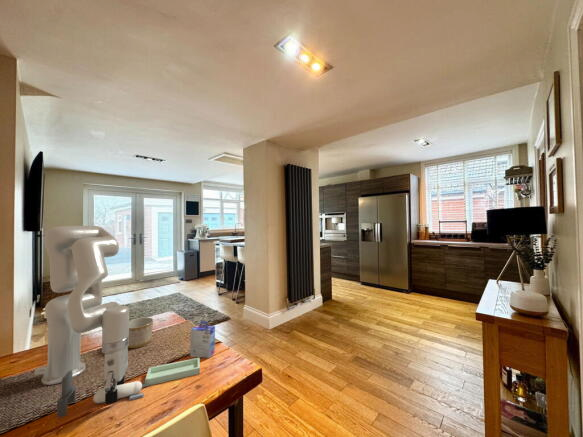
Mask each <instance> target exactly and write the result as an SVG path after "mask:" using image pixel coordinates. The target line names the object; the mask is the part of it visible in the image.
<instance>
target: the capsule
mask: <svg viewBox="0 0 583 437" xmlns="http://www.w3.org/2000/svg"><path fill="white" fill-rule="evenodd" d="M142 384H143V383H142V382H141V381H139V380H135V381H131V382H127V383H124V384H122V385H117V387H116V389H118V390H117V400H119V399H123V398H126V397H130V396H133V395H137V394H140V392H141V390H142ZM112 386H113V385H112ZM113 387H114V386H113ZM92 400H93V402H94V403H95V404H102V403H105V387H104V388H100V389H99V390H97V391H96V392H95V393H94V395H93V399H92Z"/></svg>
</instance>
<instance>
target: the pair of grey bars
mask: <svg viewBox="0 0 583 437" xmlns="http://www.w3.org/2000/svg"><path fill="white" fill-rule="evenodd" d="M146 387H148V386H147V384H145V382H144V383H142V388H146ZM144 396H145V392H142V393H137V394H135V395H131V396H129V401H133V400H137V399H142V398H144Z"/></svg>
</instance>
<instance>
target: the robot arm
mask: <svg viewBox="0 0 583 437" xmlns="http://www.w3.org/2000/svg"><path fill="white" fill-rule="evenodd" d="M43 242H44V248H45V250H46V252H47V255H48V257H49V281H50V289H51V290H52V292H54V293H59V294H60V293H68V292H71V293H68V294H65V295H61V296H57V297H55V298H52V299H50V300H49V301H48V302H47V303H46V305H45V307H44V313H45V318H46V322H47V323H46V324H47V365H46V366H41V367H35V369H34V376H35V377H37V376H38V377H39V376H42V377H41V384H43V385H47V386H48V385H50V386H51V385H56V384H60V383H61V384H62V378H63V377H64V376H65V375H66V373H67V372H68V371H71V370H72V379H73V378H75V377H77V376H79V375H81V374H82V373H83V372H84V371H85V370H86V363H85V362H82V361H81V359H82V358H81V356H82V354H81V350H82V348H81V347H82V346H81V345H82V344H81V343H82V333H84V334H85V333H87V332H89V331H92V330H96V329H99V328H101V327H102V328H101V329H102V330H101V353H103V354H104V359H103V375H102V378H103V384H104V385H105V386H104V388H105V402H104V405H106V406H107V405H110V404H115V403H117V402H118V399H117V390H118V389H116V387H117V385H122V384H125V374H126V372H127V370H128V367H129V348H128V345H129V321H130V308H129V306H126V305H121V304H120V303H118V301H110V302H105V303H103V304H102V302H103V280H105V279H106V278H107V277H108V275H109V272H108V267H107V264H106V260H105V258H110V257H111V258H112V257H115V256H116V255H117V254H118V253H119V250H120V245H119V242H118V240H117V239H116V238H115V237H114V236H113V234H111V233H110V232H108V231H107V230H106V229H104V228H103V227H101V226H99V225H98V226H97V225H64V226H63V225H62V226H61V225H60V226H56V227H51V228H50V229H48V230H47V231H46V232H45V234H44V237H43ZM112 384H113V385H112ZM113 386H114V387H113Z"/></svg>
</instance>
